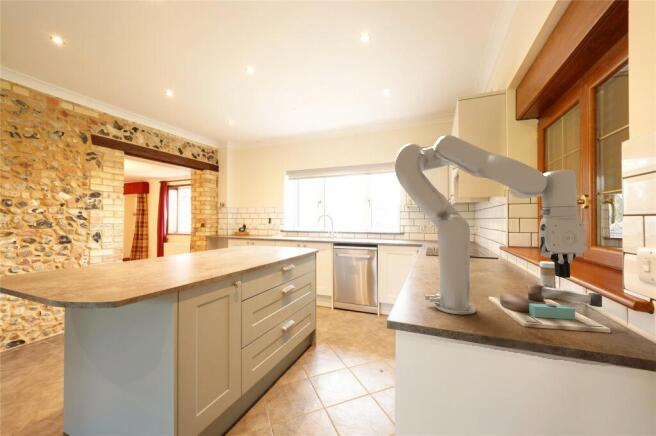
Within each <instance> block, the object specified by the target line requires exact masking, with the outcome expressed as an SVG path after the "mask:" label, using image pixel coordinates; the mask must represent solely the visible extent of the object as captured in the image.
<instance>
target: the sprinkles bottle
mask: <svg viewBox="0 0 656 436" xmlns="http://www.w3.org/2000/svg"><path fill="white" fill-rule="evenodd" d="M539 269H540V274H539V275H540V285H542V286H544V287H548V288H555V289H557V288H556V287H557V285H556V283H557V282H556V276H555V266H554V262H552V261H540V262H539ZM545 298H546V299H548V300H553V299H556V298H554V297H548V296H544V299H545Z"/></svg>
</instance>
